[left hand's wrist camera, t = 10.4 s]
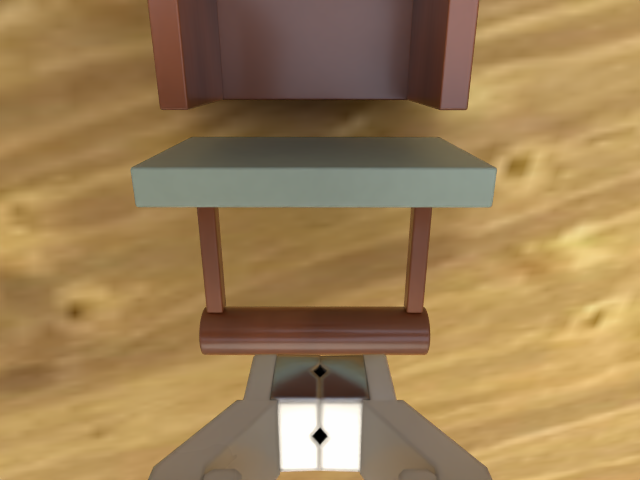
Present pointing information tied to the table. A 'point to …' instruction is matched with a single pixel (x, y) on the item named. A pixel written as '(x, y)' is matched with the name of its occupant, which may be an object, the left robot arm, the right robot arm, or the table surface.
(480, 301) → the table surface
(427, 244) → the drawer
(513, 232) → the table surface
